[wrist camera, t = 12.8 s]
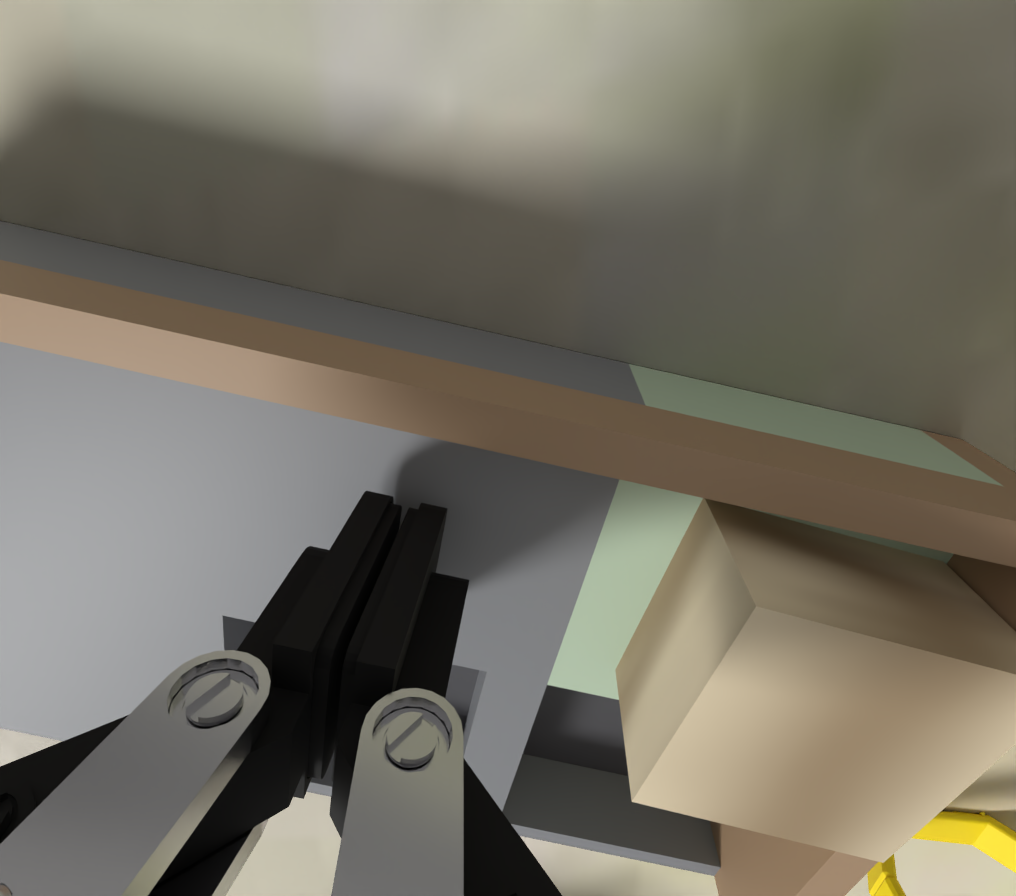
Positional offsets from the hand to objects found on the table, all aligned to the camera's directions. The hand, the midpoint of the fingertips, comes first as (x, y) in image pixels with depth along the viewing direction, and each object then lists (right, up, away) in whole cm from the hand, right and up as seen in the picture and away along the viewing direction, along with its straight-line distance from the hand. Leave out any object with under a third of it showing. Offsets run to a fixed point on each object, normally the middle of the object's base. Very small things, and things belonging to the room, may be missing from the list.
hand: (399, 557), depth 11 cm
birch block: (+8, -1, +1) cm, 8 cm away
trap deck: (0, -1, +4) cm, 4 cm away
